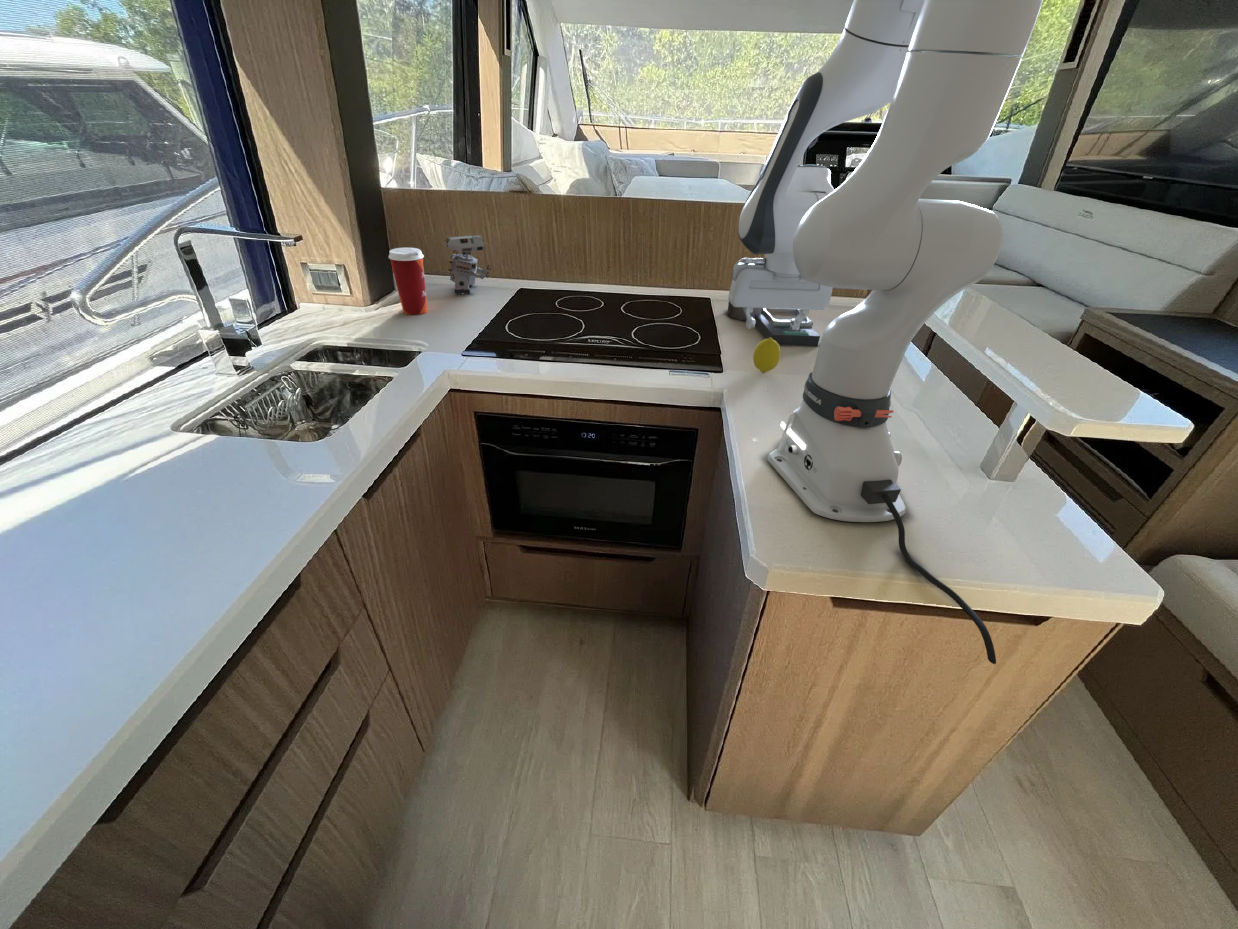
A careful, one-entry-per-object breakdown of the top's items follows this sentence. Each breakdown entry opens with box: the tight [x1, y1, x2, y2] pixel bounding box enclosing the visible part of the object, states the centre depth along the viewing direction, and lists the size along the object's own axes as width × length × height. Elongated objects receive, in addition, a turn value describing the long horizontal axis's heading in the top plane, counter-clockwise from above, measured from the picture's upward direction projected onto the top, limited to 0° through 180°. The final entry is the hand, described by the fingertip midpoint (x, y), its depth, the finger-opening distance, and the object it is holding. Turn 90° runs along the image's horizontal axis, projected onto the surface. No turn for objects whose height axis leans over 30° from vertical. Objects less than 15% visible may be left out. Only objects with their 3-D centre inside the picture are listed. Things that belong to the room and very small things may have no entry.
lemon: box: [752, 338, 781, 374], centre depth 113 cm, size 6×6×8 cm
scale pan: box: [761, 308, 814, 329], centre depth 135 cm, size 11×10×2 cm
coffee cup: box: [388, 247, 428, 316], centre depth 132 cm, size 8×8×15 cm
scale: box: [754, 314, 821, 347], centre depth 136 cm, size 16×12×3 cm
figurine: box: [445, 234, 492, 296], centre depth 150 cm, size 9×12×15 cm
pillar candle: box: [726, 261, 762, 321], centre depth 143 cm, size 10×10×15 cm
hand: (771, 328), depth 110 cm, fingers open, 8 cm apart
